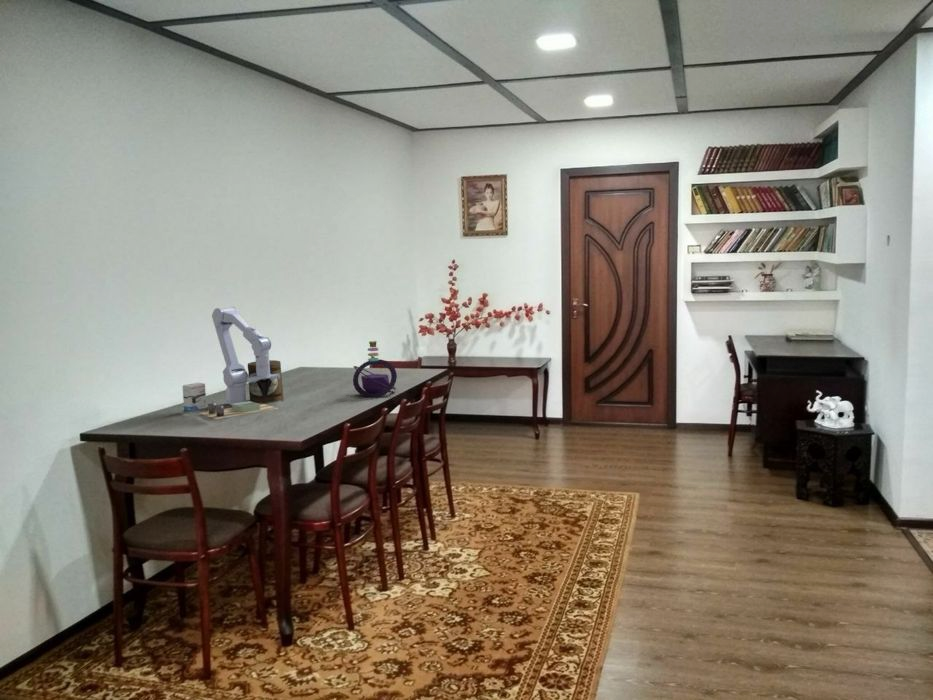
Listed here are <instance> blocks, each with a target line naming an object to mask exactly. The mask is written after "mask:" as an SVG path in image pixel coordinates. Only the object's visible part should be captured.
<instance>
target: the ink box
mask: <svg viewBox="0 0 933 700" xmlns="http://www.w3.org/2000/svg"><path fill="white" fill-rule="evenodd" d="M206 392H207V390H206V383H204V382H194V383H187V384H183V385H182V397H183V410H184V411H189V412H192V411H197V410H200V409H206V408H208V404H207V393H206Z"/></svg>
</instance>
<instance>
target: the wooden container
mask: <svg viewBox="0 0 933 700" xmlns="http://www.w3.org/2000/svg"><path fill="white" fill-rule="evenodd" d="M269 363H270V374H280V378H279V379H278V378H277V379H270V380H272V383H271V385H270V387H269V391H268V396H267V397H262V393H261V390H260V388H259V386H258V385H257V383H256V381H255V382H250V383H249V382H248V393H249V401H251V402H254V403H262V404H265V403H273V402H275V403H276V402H279V401H280V402H284V389H283V388H284V385H283V377H282V366H281V361H280V360H276V359H275V360H272V359H271V360H270V359H269ZM247 371H248V372H247V373H248V377H254V376H257V373H256V361H253V362H252V361H251V362H248V363H247ZM266 379H267V378H266Z"/></svg>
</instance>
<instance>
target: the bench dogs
mask: <svg viewBox="0 0 933 700" xmlns="http://www.w3.org/2000/svg"><path fill="white" fill-rule="evenodd" d="M207 408H208V411H209V414H215V413H216V415H217V416H218V417H219V416H224V409H225V407H224V405H222V404H221V405H217V403H216V402H210V403H208V404H207Z"/></svg>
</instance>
